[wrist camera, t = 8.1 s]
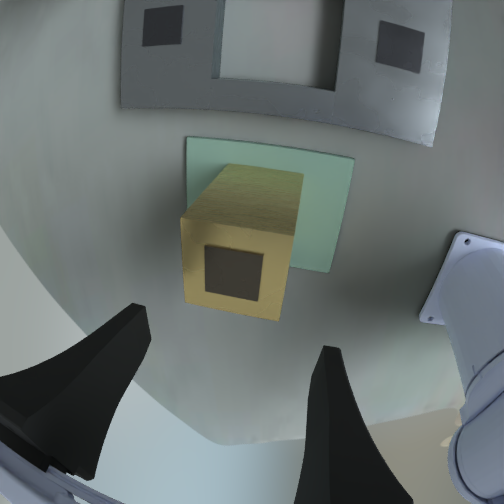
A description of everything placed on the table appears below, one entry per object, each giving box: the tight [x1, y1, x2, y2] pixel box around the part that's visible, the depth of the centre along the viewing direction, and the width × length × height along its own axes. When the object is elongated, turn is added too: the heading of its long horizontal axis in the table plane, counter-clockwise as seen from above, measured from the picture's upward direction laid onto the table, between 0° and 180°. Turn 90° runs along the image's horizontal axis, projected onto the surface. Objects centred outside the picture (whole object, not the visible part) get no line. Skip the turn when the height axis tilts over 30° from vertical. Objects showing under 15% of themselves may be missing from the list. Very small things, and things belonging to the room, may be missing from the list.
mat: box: [187, 136, 355, 273], centre depth 20 cm, size 10×8×1 cm
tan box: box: [180, 163, 304, 321], centre depth 16 cm, size 4×4×8 cm
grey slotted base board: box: [121, 0, 453, 147], centre depth 13 cm, size 18×10×2 cm, turn 86°
